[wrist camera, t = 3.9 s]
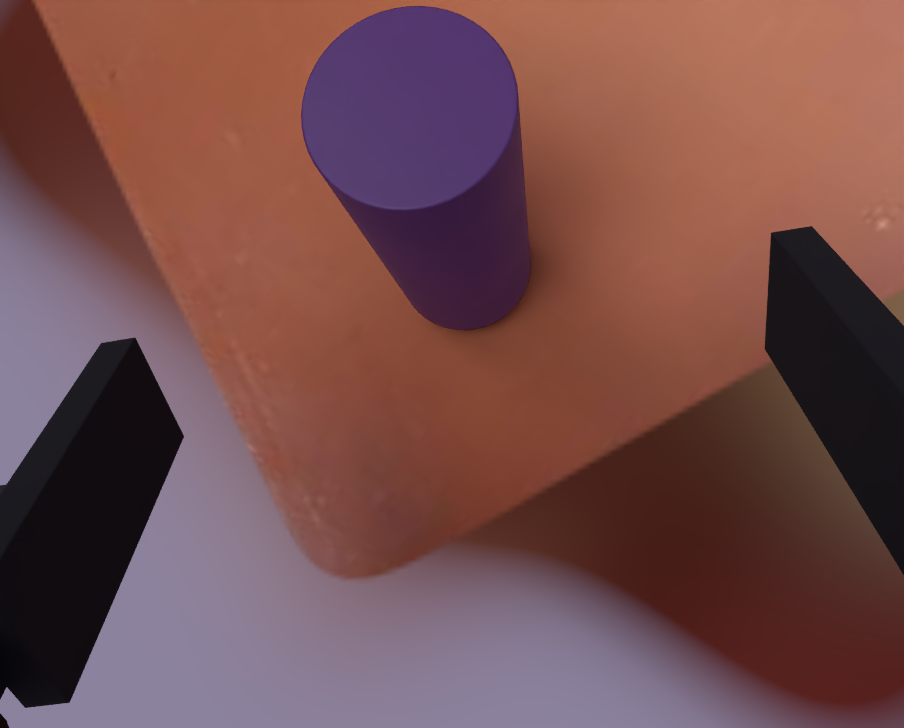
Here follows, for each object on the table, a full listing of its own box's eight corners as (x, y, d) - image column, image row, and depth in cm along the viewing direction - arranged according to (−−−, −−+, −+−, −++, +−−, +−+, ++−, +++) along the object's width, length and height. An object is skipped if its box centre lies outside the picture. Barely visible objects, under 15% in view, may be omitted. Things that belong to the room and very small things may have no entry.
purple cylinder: (414, 345, 27) (312, 227, 15) (398, 226, 28) (290, 28, 16) (540, 325, 27) (534, 188, 15) (520, 205, 27) (500, -15, 16)
